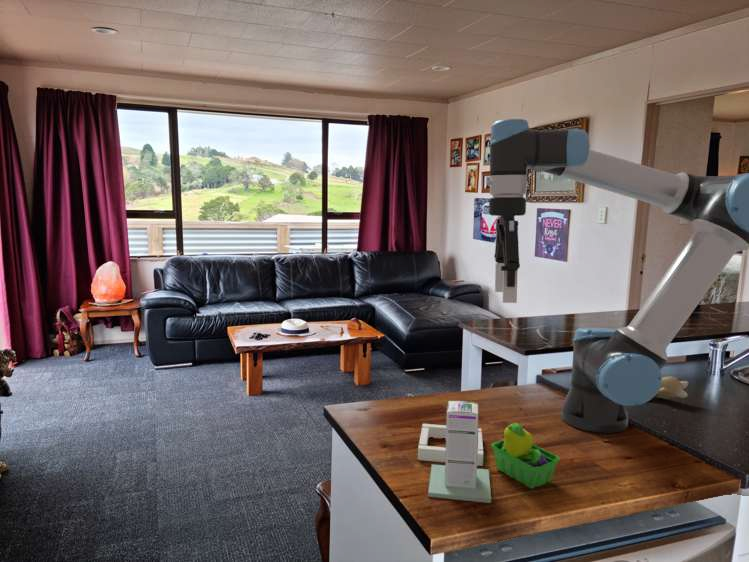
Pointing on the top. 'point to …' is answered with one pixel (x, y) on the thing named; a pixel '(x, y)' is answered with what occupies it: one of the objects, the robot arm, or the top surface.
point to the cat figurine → (672, 388)
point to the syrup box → (461, 444)
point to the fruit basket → (523, 457)
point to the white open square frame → (440, 452)
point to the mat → (442, 491)
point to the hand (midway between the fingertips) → (505, 297)
